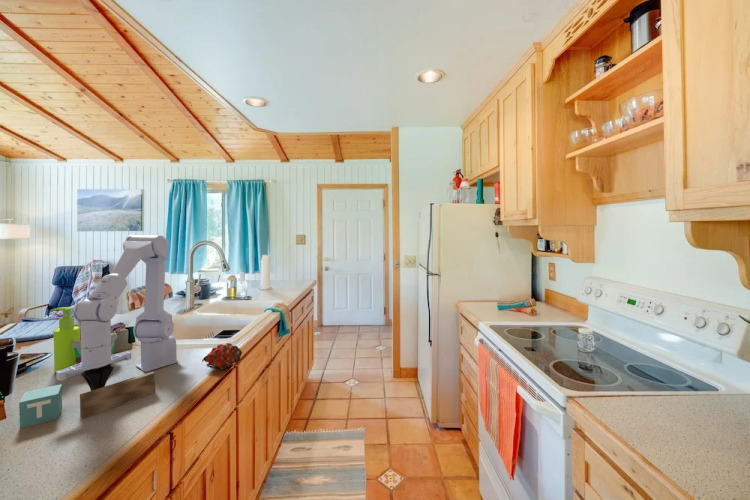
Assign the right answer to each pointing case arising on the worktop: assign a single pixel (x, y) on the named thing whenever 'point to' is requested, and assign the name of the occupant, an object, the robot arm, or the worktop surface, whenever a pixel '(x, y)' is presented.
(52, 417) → the teal cube
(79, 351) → the food container
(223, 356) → the dragon fruit
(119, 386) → the walnut block
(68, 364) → the soap dispenser
